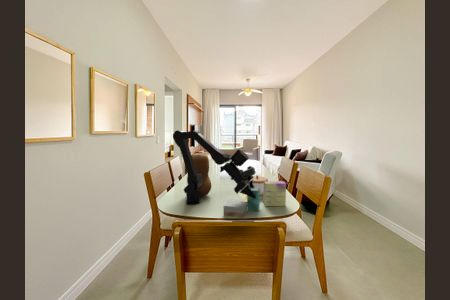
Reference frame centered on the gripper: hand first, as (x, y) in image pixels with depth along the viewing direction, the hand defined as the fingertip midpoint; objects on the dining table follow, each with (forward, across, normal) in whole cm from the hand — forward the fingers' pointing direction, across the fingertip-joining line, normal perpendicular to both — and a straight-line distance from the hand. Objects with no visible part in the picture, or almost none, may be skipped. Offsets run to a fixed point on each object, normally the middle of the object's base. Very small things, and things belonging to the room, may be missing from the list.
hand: (256, 196), depth 113 cm
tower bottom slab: (-1, -7, +11) cm, 13 cm away
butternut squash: (-20, +12, +30) cm, 39 cm away
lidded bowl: (+2, +27, +8) cm, 28 cm away
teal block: (+4, 0, +6) cm, 7 cm away
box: (+10, +10, 0) cm, 14 cm away
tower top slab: (-2, -7, +9) cm, 12 cm away
